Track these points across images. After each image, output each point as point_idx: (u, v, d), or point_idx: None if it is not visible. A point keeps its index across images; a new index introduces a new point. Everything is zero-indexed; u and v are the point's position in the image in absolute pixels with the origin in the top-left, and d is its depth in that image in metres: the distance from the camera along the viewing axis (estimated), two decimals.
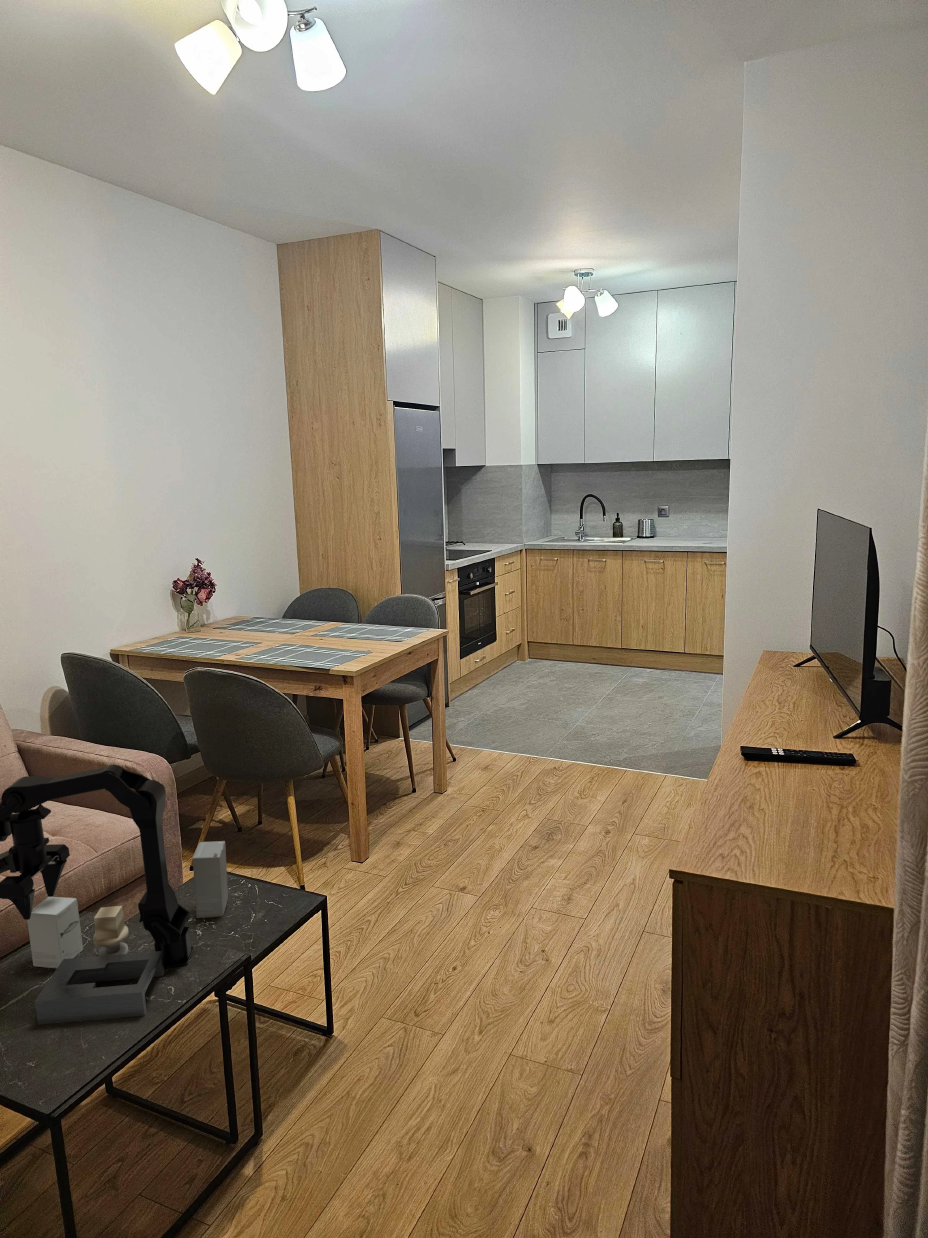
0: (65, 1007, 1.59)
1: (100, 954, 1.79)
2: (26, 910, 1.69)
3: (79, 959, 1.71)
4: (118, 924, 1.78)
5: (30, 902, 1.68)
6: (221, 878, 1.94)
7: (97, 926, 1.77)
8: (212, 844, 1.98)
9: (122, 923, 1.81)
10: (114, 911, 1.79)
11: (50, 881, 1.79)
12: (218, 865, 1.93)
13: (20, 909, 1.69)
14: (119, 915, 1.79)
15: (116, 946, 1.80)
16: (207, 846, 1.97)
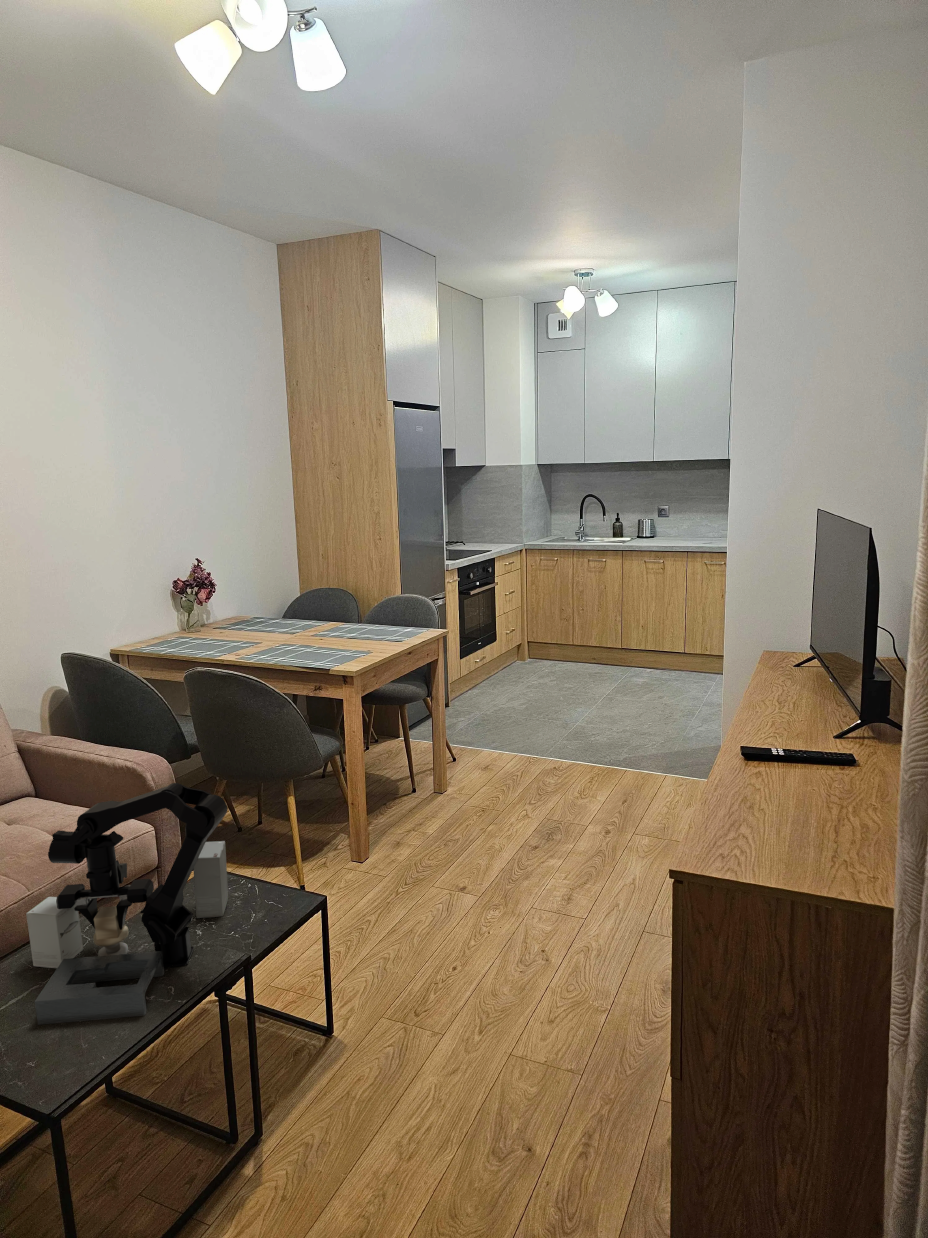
0: (65, 1007, 1.59)
1: (100, 954, 1.79)
2: None
3: (79, 959, 1.71)
4: (118, 924, 1.78)
5: (86, 917, 1.77)
6: (221, 878, 1.94)
7: (97, 926, 1.77)
8: (212, 844, 1.98)
9: None
10: (114, 911, 1.79)
11: None
12: (218, 865, 1.93)
13: None
14: None
15: (116, 946, 1.80)
16: (207, 846, 1.97)
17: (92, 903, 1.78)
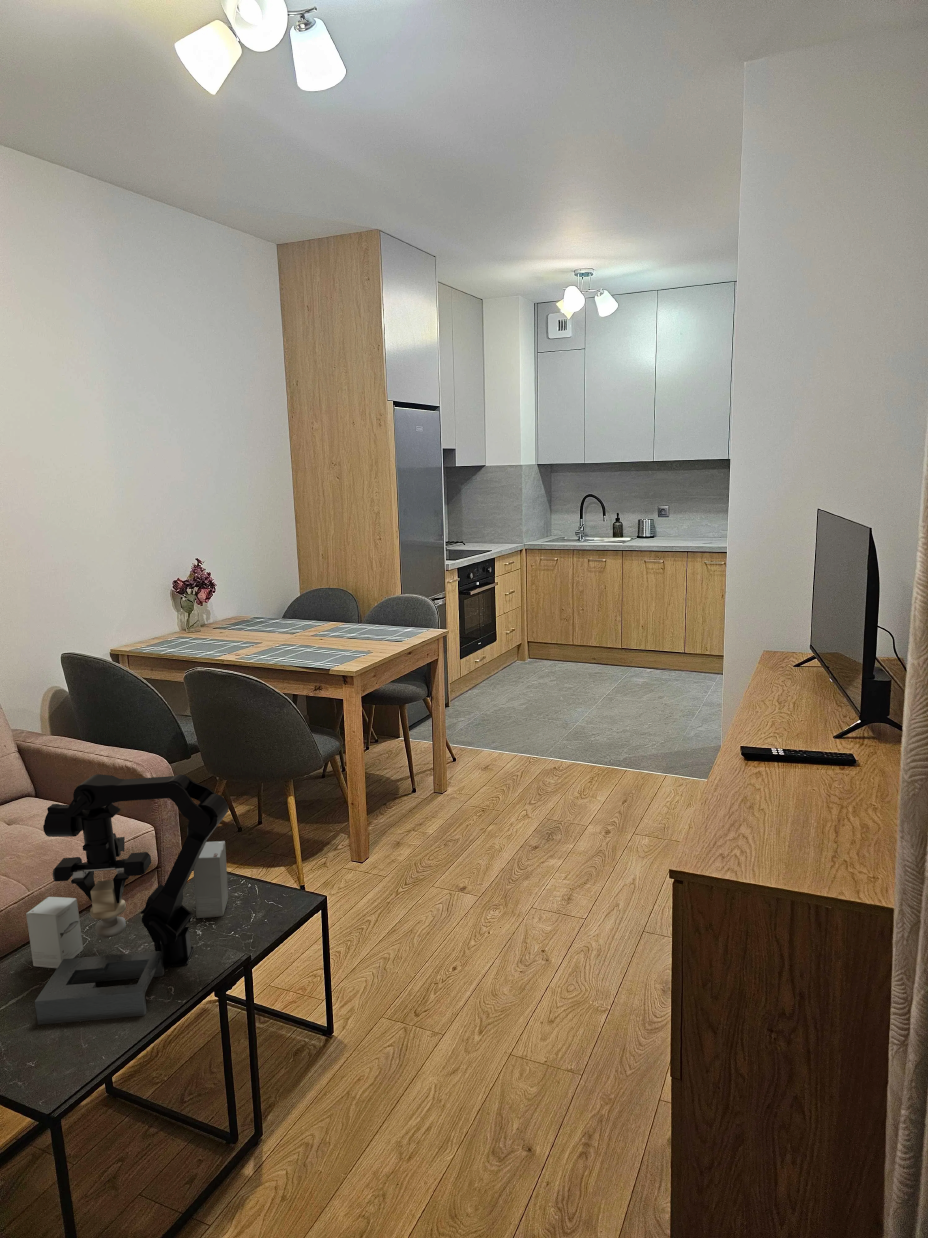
0: (65, 1007, 1.59)
1: (97, 928, 1.77)
2: None
3: (79, 959, 1.71)
4: (115, 897, 1.77)
5: (83, 890, 1.75)
6: (221, 878, 1.94)
7: (94, 899, 1.75)
8: (212, 844, 1.98)
9: None
10: (111, 884, 1.77)
11: None
12: (218, 865, 1.93)
13: None
14: None
15: (113, 920, 1.78)
16: (207, 846, 1.97)
17: (89, 876, 1.76)
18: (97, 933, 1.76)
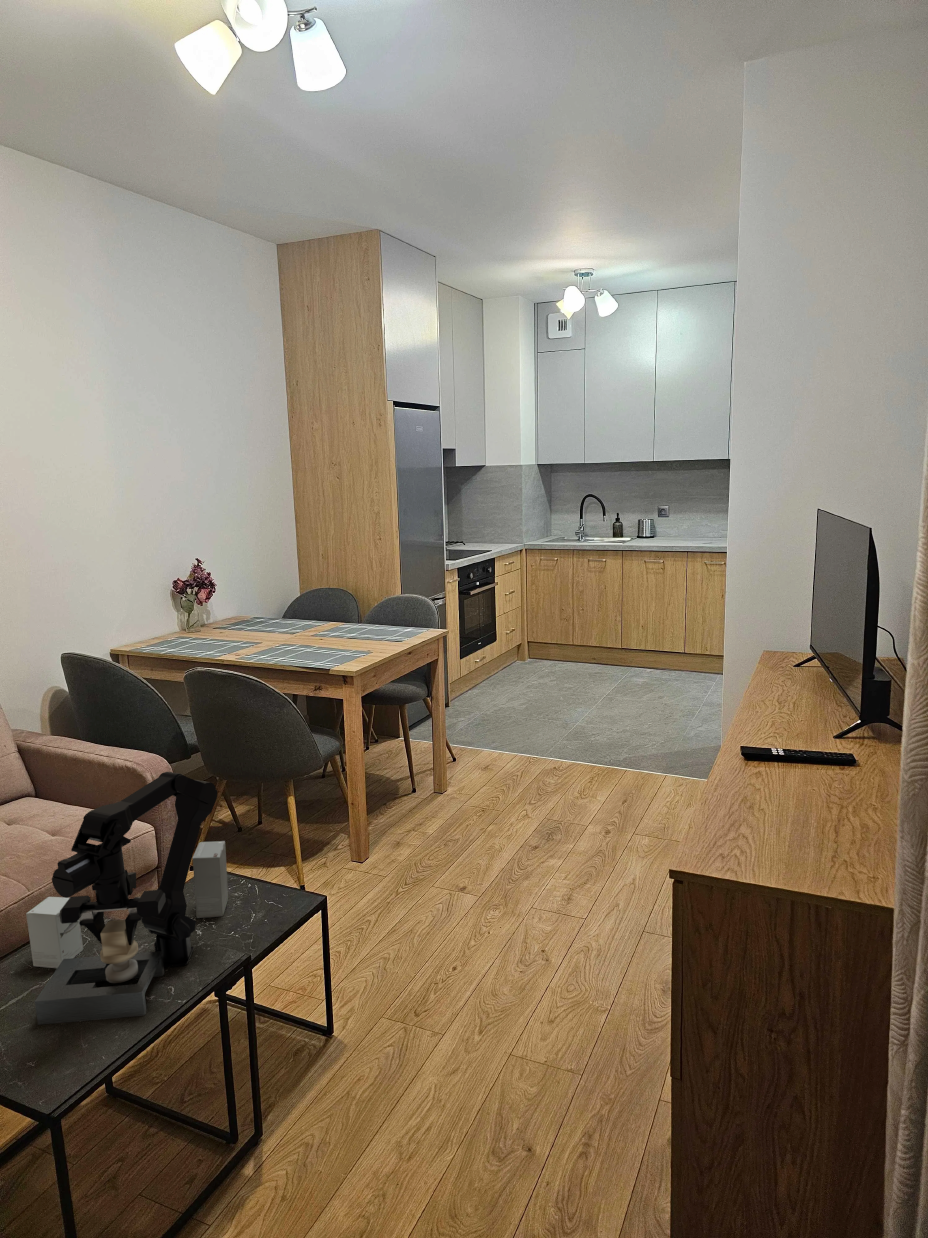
0: (65, 1007, 1.59)
1: (107, 972, 1.64)
2: None
3: (79, 959, 1.71)
4: None
5: (92, 932, 1.62)
6: (221, 878, 1.94)
7: (104, 942, 1.62)
8: (212, 844, 1.98)
9: None
10: (122, 925, 1.64)
11: None
12: (218, 865, 1.93)
13: None
14: None
15: (125, 963, 1.65)
16: (207, 846, 1.97)
17: (99, 916, 1.63)
18: (107, 978, 1.63)
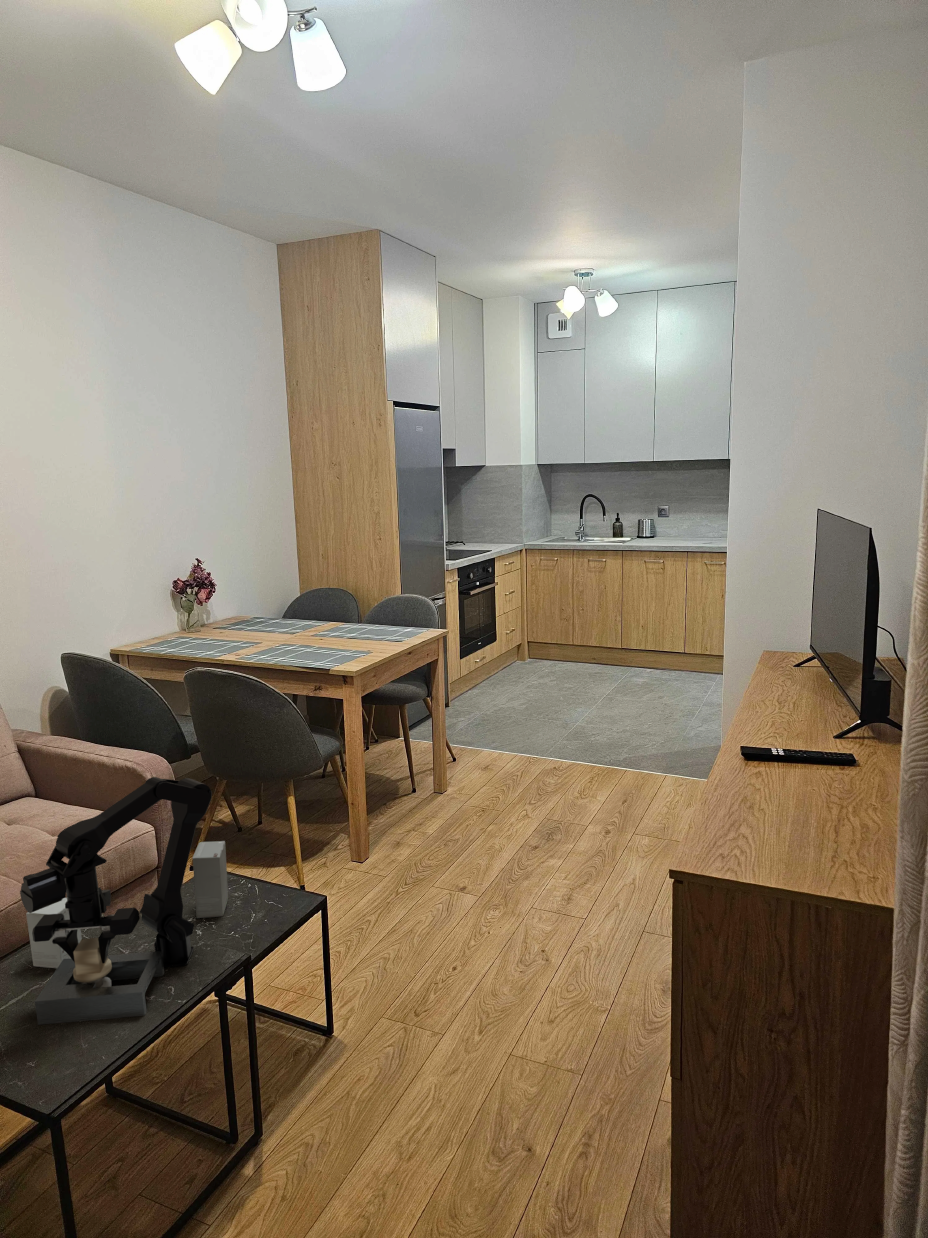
0: (65, 1007, 1.59)
1: None
2: None
3: None
4: (100, 957, 1.64)
5: (65, 950, 1.62)
6: (221, 878, 1.94)
7: (77, 960, 1.62)
8: (212, 844, 1.98)
9: None
10: (96, 943, 1.64)
11: None
12: (218, 865, 1.93)
13: None
14: None
15: (98, 981, 1.65)
16: (207, 846, 1.97)
17: (72, 934, 1.63)
18: None
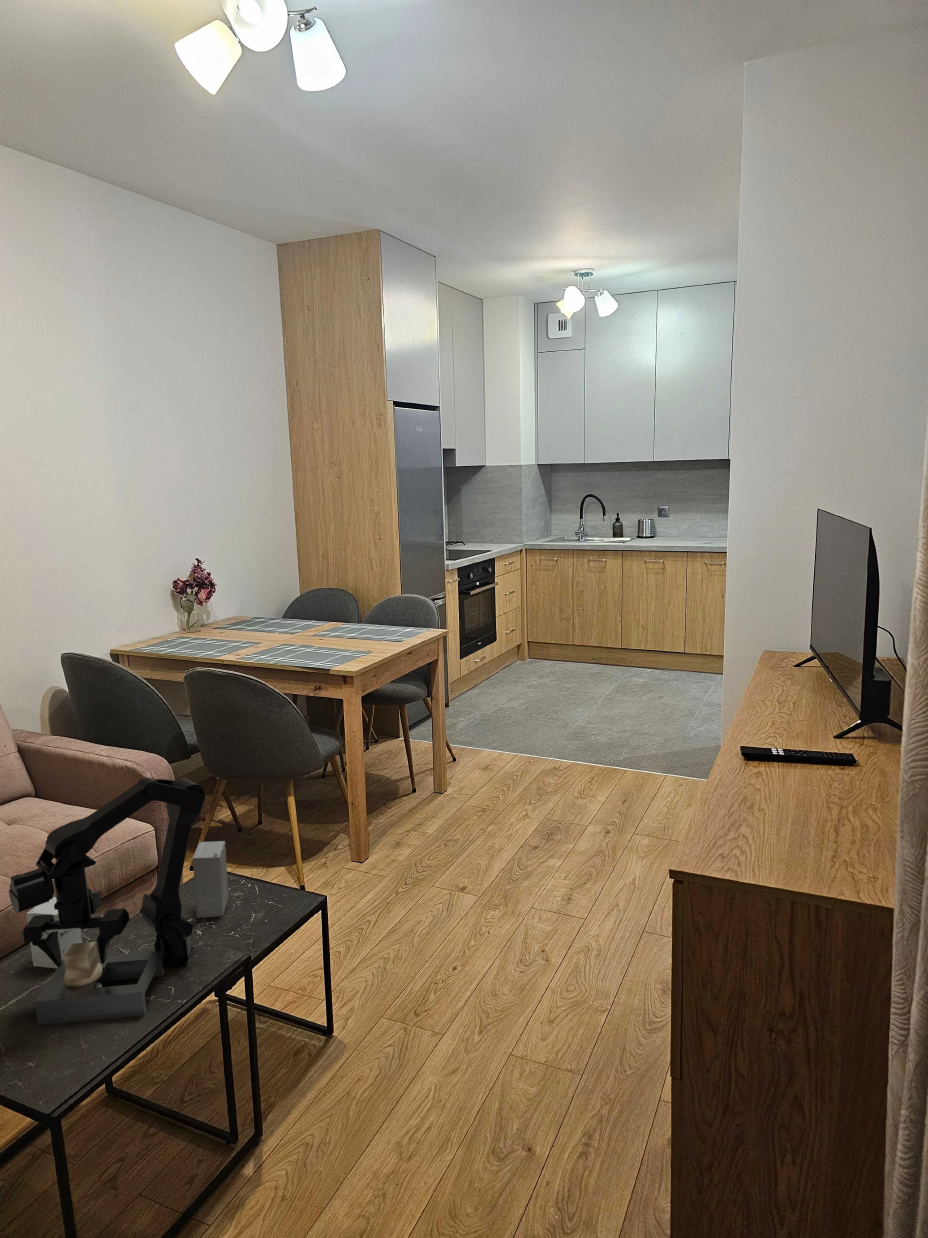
0: (65, 1007, 1.59)
1: None
2: None
3: None
4: (90, 962, 1.64)
5: (45, 952, 1.61)
6: (221, 878, 1.94)
7: (67, 965, 1.62)
8: (212, 844, 1.98)
9: (95, 961, 1.66)
10: (86, 948, 1.64)
11: None
12: (218, 865, 1.93)
13: None
14: (92, 952, 1.65)
15: None
16: (207, 846, 1.97)
17: (52, 936, 1.63)
18: None
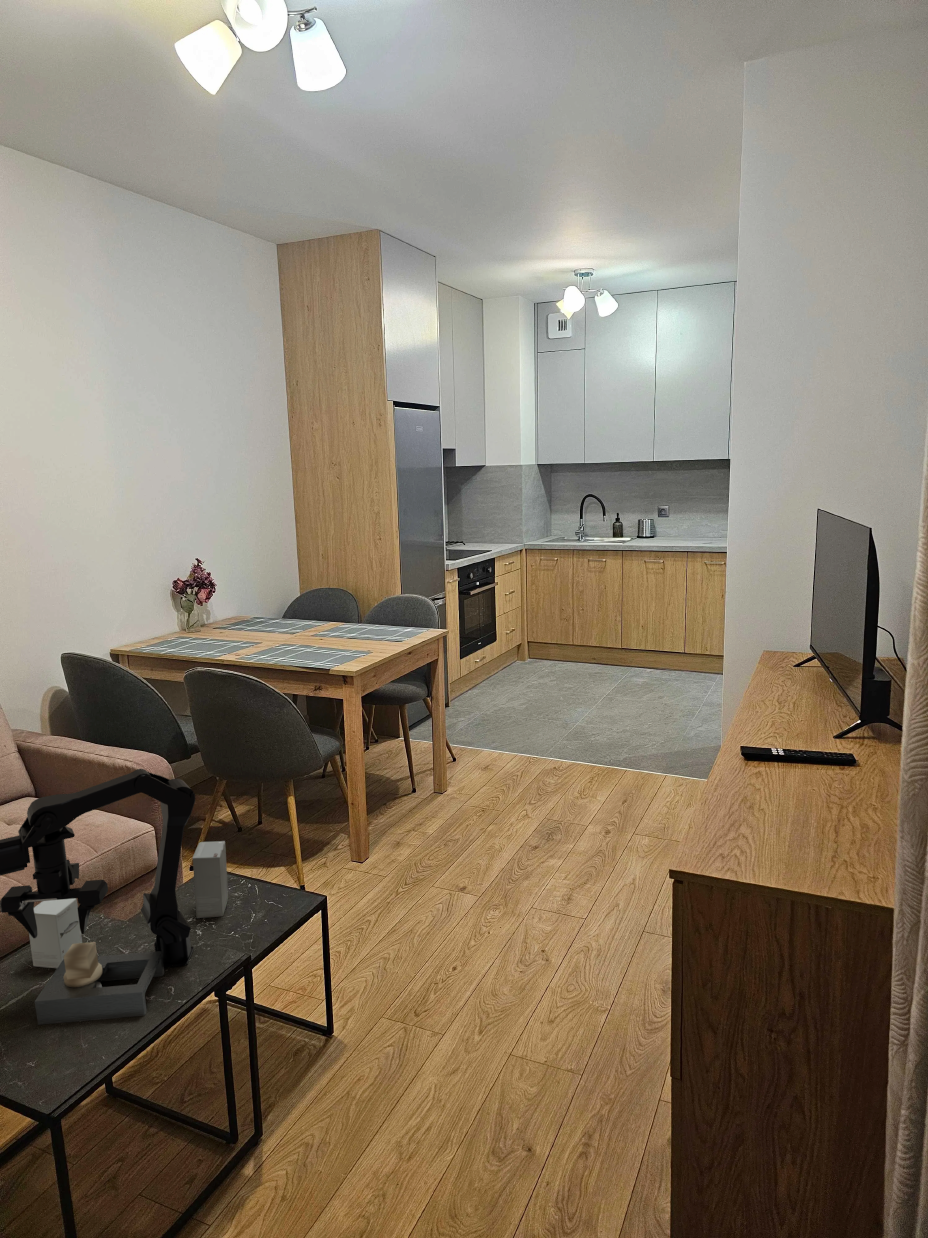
0: (65, 1007, 1.59)
1: None
2: None
3: None
4: (90, 962, 1.64)
5: (21, 922, 1.62)
6: (221, 878, 1.94)
7: (67, 965, 1.62)
8: (212, 844, 1.98)
9: (95, 961, 1.66)
10: (86, 948, 1.64)
11: None
12: (218, 865, 1.93)
13: None
14: (92, 952, 1.65)
15: None
16: (207, 846, 1.97)
17: (29, 907, 1.64)
18: None
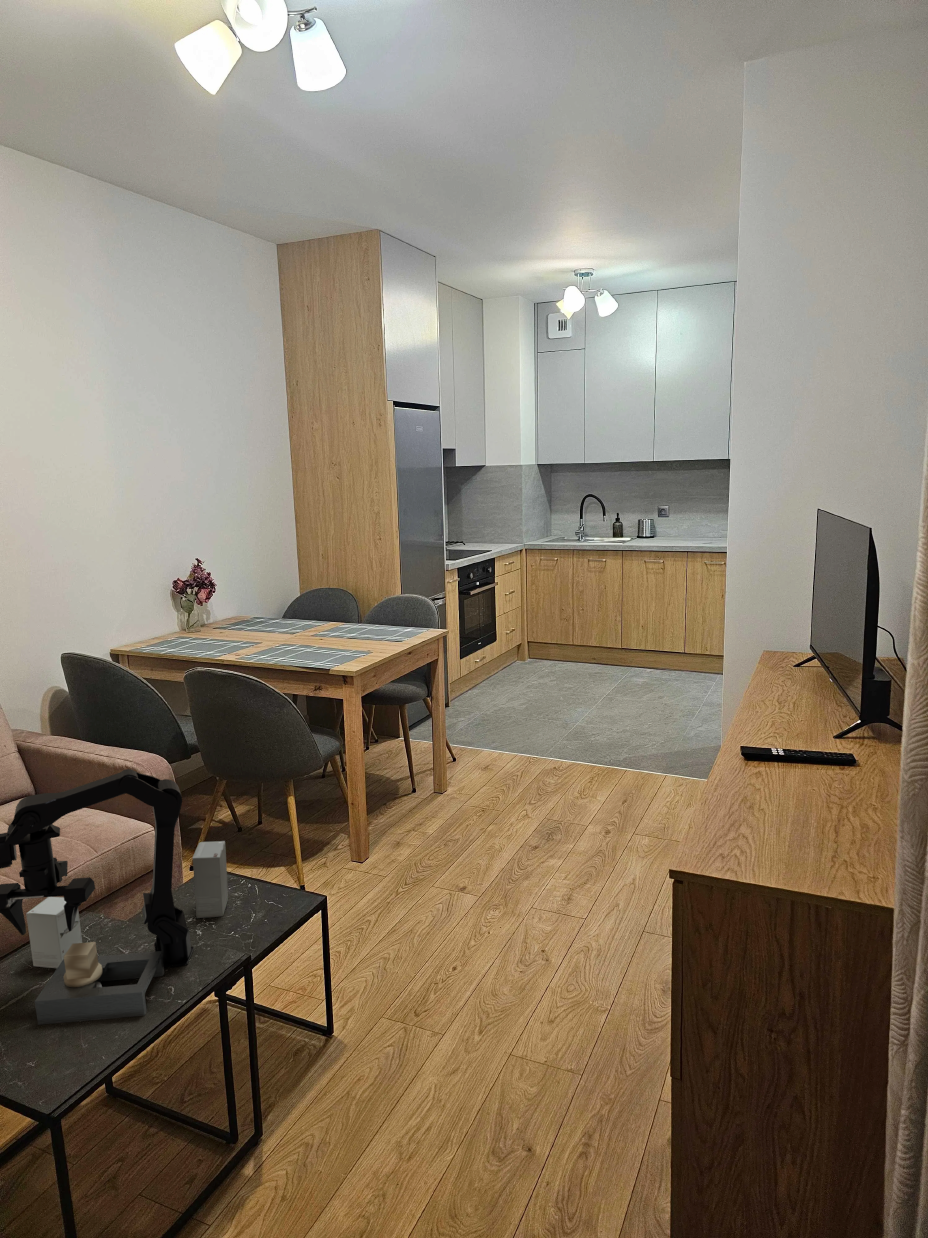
0: (65, 1007, 1.59)
1: None
2: None
3: None
4: (90, 962, 1.64)
5: (9, 919, 1.64)
6: (221, 878, 1.94)
7: (67, 965, 1.62)
8: (212, 844, 1.98)
9: (95, 961, 1.66)
10: (86, 948, 1.64)
11: None
12: (218, 865, 1.93)
13: None
14: (92, 952, 1.65)
15: None
16: (207, 846, 1.97)
17: (17, 904, 1.66)
18: None
